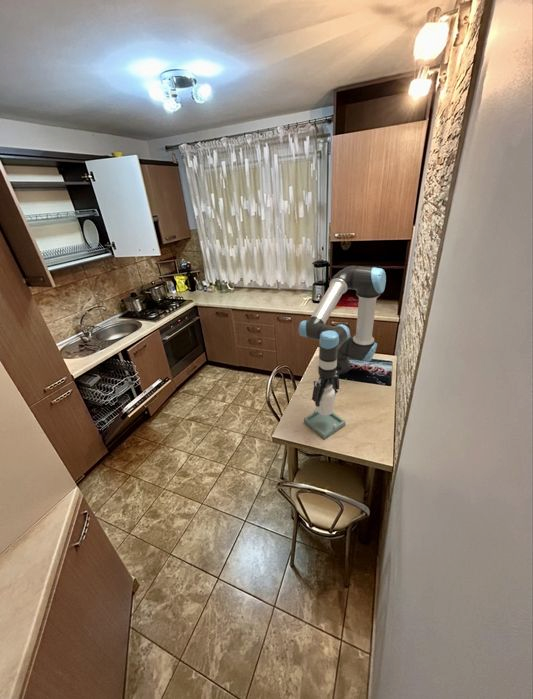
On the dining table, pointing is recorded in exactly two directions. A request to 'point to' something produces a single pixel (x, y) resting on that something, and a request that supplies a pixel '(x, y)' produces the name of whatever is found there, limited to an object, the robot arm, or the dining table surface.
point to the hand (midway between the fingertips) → (325, 406)
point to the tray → (324, 423)
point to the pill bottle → (327, 400)
